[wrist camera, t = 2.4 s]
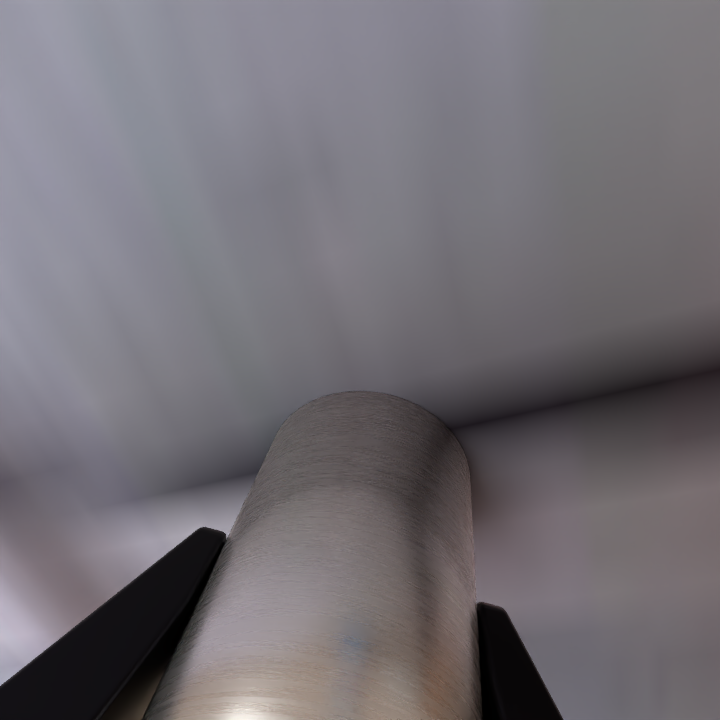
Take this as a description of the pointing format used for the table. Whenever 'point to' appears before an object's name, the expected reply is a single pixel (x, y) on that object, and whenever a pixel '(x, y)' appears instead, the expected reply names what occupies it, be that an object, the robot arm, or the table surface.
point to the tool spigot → (340, 579)
